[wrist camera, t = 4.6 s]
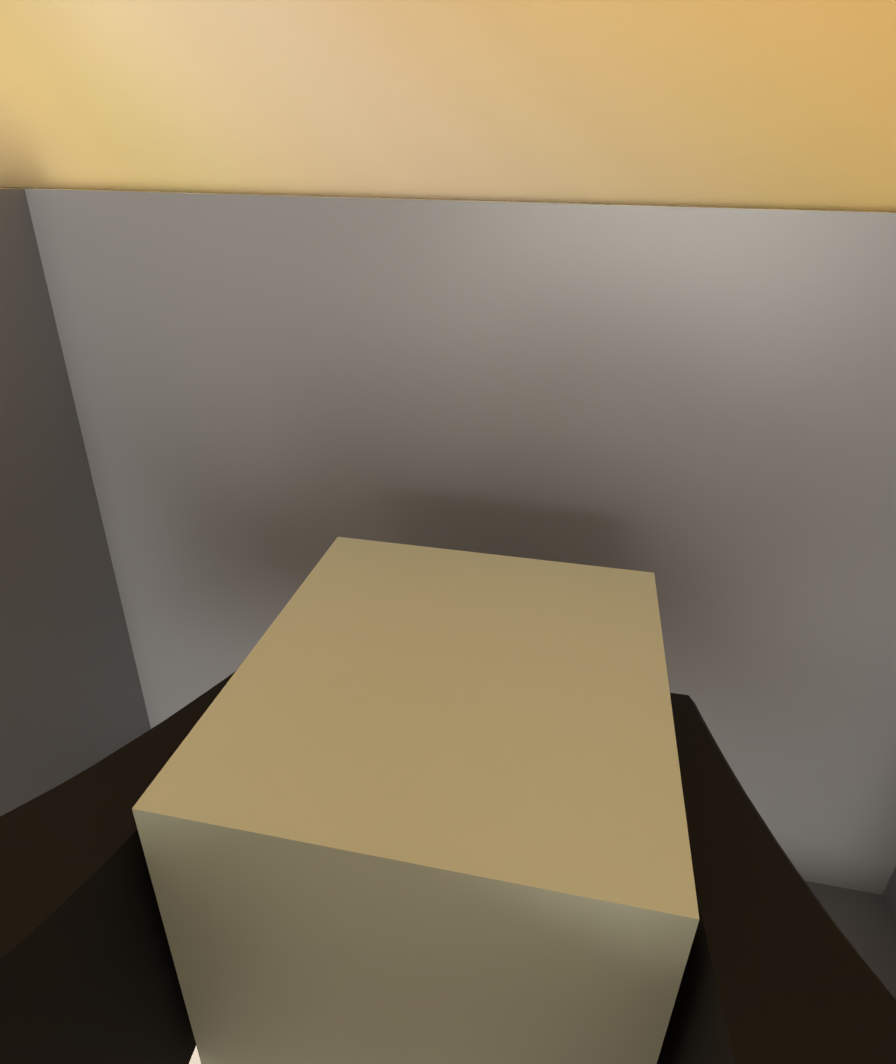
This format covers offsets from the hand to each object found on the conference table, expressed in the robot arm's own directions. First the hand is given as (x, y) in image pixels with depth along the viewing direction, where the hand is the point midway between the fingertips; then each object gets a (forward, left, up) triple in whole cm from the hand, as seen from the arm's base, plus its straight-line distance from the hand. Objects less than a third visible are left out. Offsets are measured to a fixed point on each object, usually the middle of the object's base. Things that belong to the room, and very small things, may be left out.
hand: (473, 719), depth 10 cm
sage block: (0, 0, -1) cm, 1 cm away
